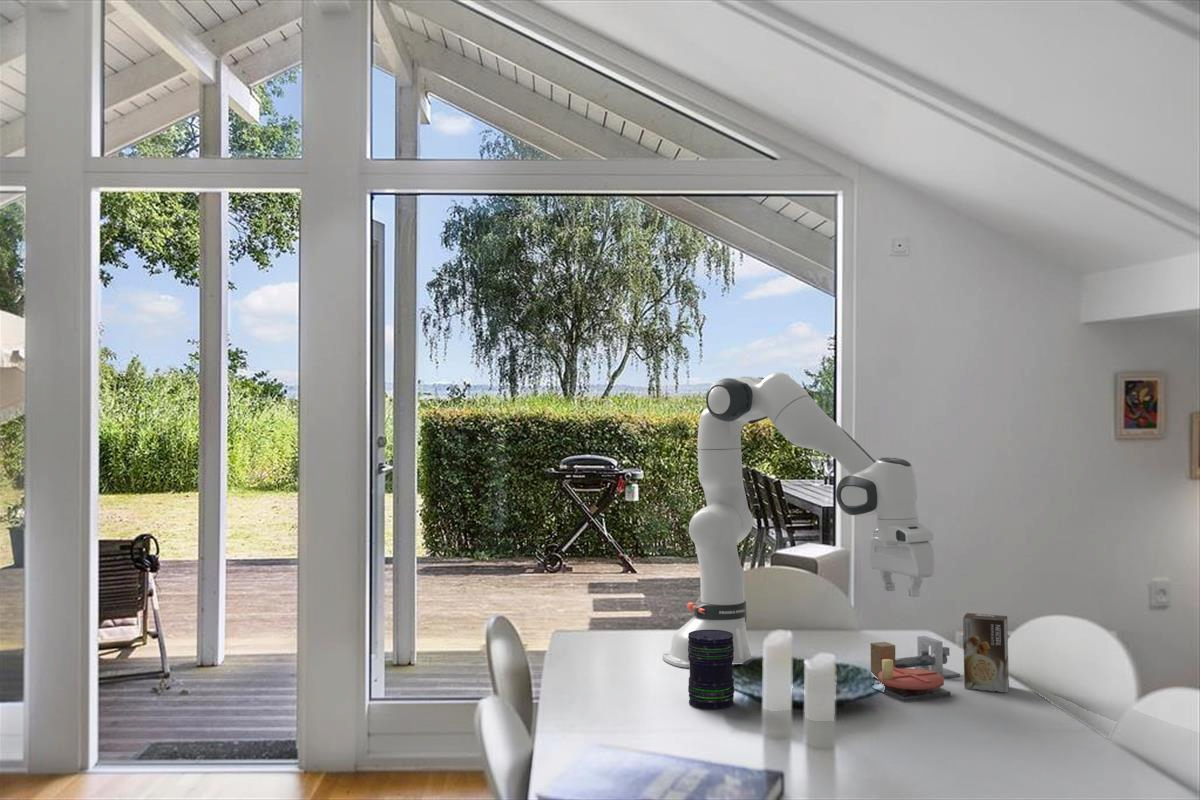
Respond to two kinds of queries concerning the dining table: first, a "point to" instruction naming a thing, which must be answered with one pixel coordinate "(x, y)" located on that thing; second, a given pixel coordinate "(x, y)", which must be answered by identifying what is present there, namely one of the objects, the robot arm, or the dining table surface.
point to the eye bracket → (933, 656)
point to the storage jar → (711, 669)
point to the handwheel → (909, 677)
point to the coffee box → (985, 652)
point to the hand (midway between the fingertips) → (901, 593)
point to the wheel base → (915, 693)
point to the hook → (888, 652)
